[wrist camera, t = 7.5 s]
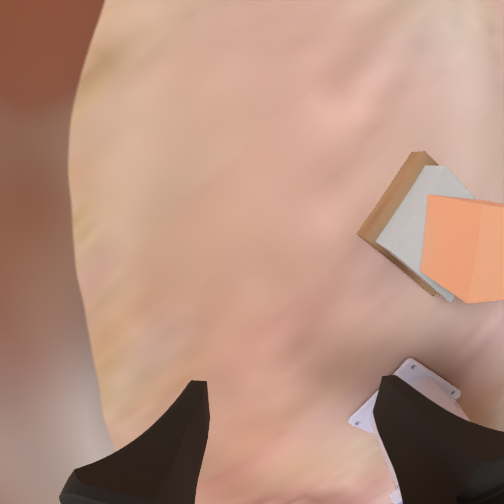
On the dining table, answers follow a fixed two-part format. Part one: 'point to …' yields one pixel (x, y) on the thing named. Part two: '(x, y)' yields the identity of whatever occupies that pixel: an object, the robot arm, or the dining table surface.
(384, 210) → the bottom slab
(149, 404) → the dining table surface
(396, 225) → the top slab
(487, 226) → the peach foam cube
